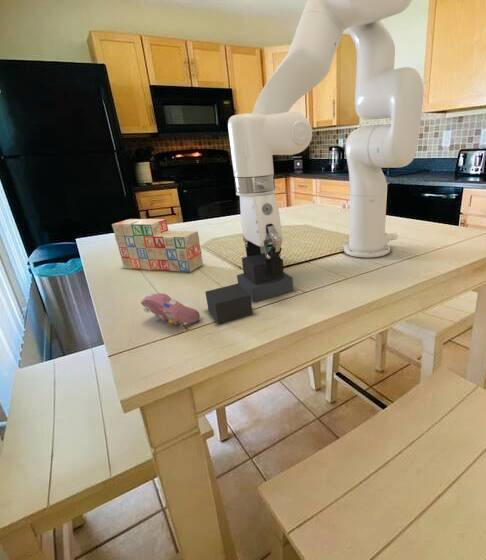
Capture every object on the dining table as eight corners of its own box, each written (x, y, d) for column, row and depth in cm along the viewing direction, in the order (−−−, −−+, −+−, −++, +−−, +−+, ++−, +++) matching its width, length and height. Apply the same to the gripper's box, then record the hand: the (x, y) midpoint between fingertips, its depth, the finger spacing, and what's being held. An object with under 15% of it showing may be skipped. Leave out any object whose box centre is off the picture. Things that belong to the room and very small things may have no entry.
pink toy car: (154, 323, 64) (130, 300, 59) (170, 305, 66) (148, 281, 61) (188, 337, 59) (165, 312, 54) (204, 316, 61) (183, 291, 56)
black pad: (240, 301, 67) (237, 283, 66) (252, 314, 62) (250, 294, 60) (208, 310, 64) (205, 291, 63) (218, 324, 59) (215, 304, 58)
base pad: (274, 278, 78) (273, 266, 77) (293, 290, 71) (292, 277, 70) (238, 287, 74) (236, 274, 73) (254, 301, 67) (252, 288, 66)
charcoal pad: (270, 268, 75) (269, 251, 74) (284, 277, 70) (282, 259, 68) (243, 275, 72) (241, 257, 71) (255, 284, 67) (253, 266, 66)
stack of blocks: (204, 264, 90) (196, 219, 85) (190, 273, 84) (181, 224, 80) (139, 260, 96) (129, 218, 92) (123, 268, 91) (110, 223, 86)
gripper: (294, 186, 59) (299, 277, 65) (255, 180, 73) (263, 255, 79) (254, 192, 56) (264, 286, 62) (222, 184, 70) (233, 262, 76)
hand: (263, 269), depth 71 cm, fingers open, 9 cm apart
